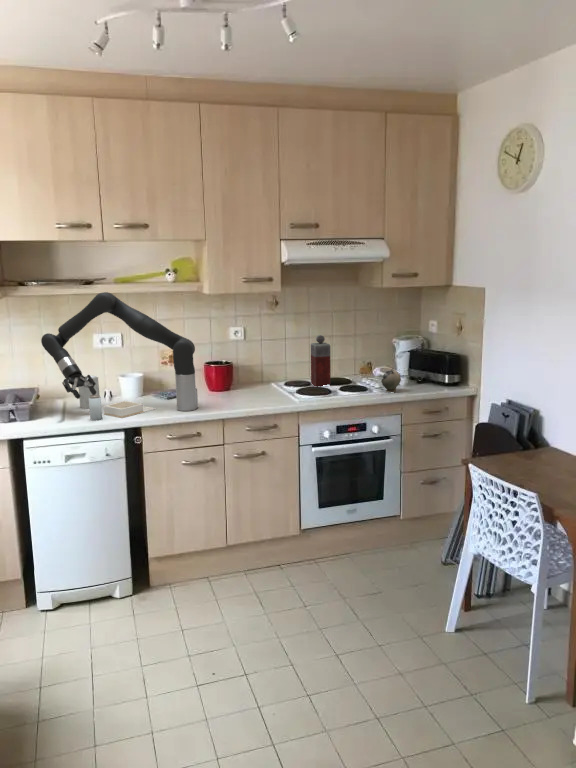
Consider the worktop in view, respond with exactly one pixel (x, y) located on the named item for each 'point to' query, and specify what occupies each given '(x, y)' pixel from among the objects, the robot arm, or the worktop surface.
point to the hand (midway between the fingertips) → (87, 395)
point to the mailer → (125, 409)
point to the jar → (95, 407)
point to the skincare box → (87, 393)
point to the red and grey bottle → (320, 362)
